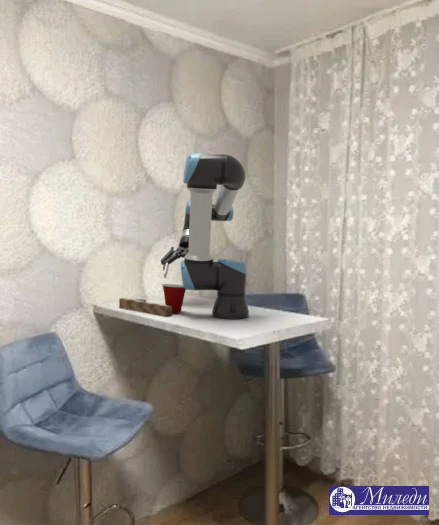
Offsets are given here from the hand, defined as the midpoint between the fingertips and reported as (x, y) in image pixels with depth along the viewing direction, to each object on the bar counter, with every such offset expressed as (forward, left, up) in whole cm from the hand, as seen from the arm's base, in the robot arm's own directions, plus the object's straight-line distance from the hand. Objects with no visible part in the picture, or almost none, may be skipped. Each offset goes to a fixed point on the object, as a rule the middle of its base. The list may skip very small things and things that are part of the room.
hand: (179, 276), depth 207 cm
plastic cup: (-5, +8, -14) cm, 17 cm away
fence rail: (+5, +12, -14) cm, 19 cm away
